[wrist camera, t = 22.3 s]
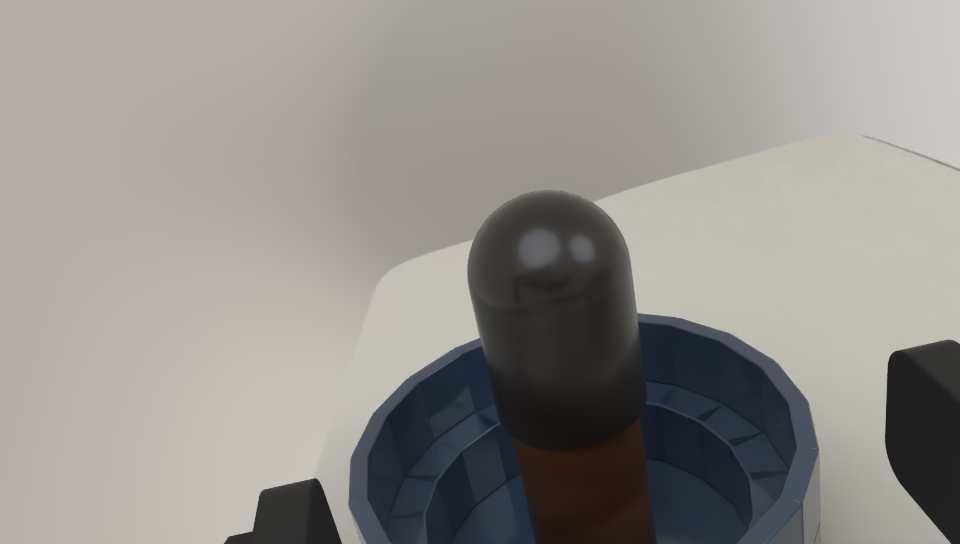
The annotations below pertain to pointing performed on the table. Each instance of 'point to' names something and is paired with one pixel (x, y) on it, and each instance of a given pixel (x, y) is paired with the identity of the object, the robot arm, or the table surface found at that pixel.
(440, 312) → the table surface
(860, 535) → the table surface
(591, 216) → the two-tone capsule
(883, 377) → the table surface
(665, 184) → the table surface
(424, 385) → the bowl
